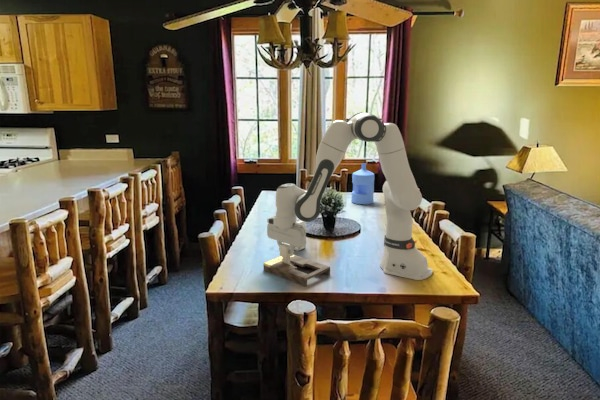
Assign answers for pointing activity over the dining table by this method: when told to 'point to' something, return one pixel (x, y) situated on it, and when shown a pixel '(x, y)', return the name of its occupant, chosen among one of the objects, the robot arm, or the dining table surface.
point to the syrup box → (305, 232)
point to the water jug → (363, 186)
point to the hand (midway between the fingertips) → (286, 252)
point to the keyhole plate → (295, 269)
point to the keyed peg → (285, 253)
